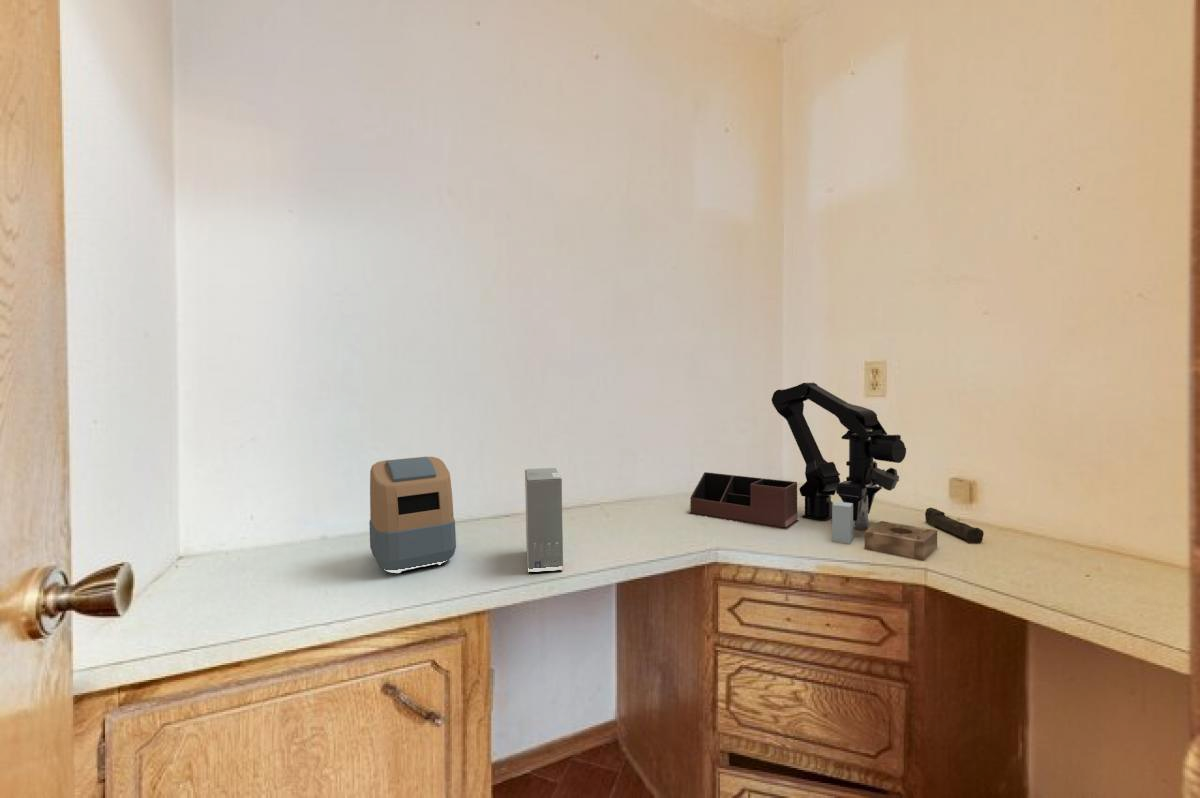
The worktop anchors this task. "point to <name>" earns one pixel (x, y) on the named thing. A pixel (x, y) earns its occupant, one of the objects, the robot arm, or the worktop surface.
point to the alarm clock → (411, 513)
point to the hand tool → (953, 526)
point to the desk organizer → (746, 500)
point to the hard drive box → (543, 518)
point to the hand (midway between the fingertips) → (860, 516)
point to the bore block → (901, 540)
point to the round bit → (862, 515)
